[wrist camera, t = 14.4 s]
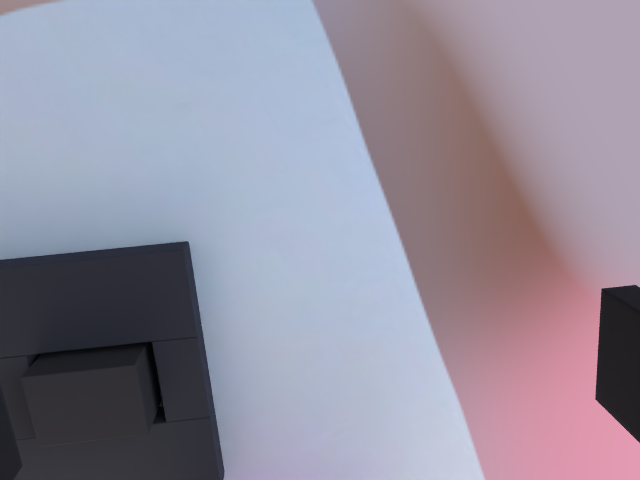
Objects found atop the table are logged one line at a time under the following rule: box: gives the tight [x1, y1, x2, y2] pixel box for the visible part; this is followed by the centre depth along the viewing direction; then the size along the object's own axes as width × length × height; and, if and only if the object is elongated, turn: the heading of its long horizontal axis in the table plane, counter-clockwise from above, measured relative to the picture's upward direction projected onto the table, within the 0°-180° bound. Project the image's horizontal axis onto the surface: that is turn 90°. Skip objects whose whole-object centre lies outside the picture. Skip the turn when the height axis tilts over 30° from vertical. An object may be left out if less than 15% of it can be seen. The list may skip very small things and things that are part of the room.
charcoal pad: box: [0, 242, 224, 480], centre depth 37 cm, size 18×14×2 cm
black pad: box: [21, 342, 161, 447], centre depth 36 cm, size 5×7×4 cm
